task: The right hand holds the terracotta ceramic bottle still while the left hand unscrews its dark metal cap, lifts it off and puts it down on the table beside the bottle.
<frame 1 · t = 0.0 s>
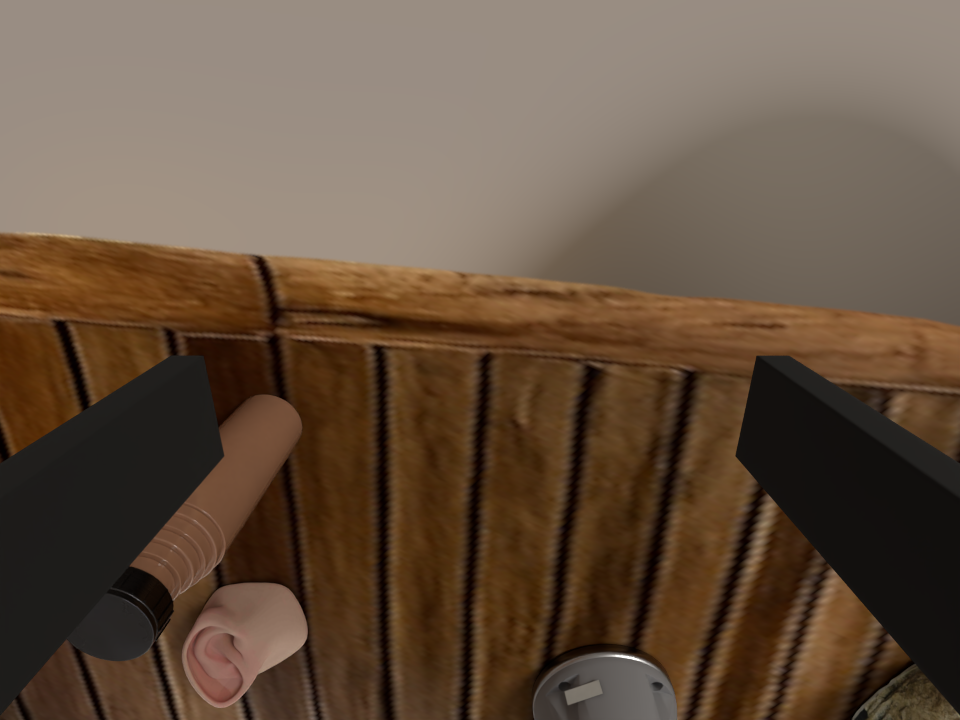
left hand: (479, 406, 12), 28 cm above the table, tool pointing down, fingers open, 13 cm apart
cap: (110, 622, 25), point 20 cm above the table, screwed on, not yet turned
bottle: (269, 424, 44), on the table
anatomical model: (251, 625, 53), on the table
fossil: (900, 697, 57), on the table
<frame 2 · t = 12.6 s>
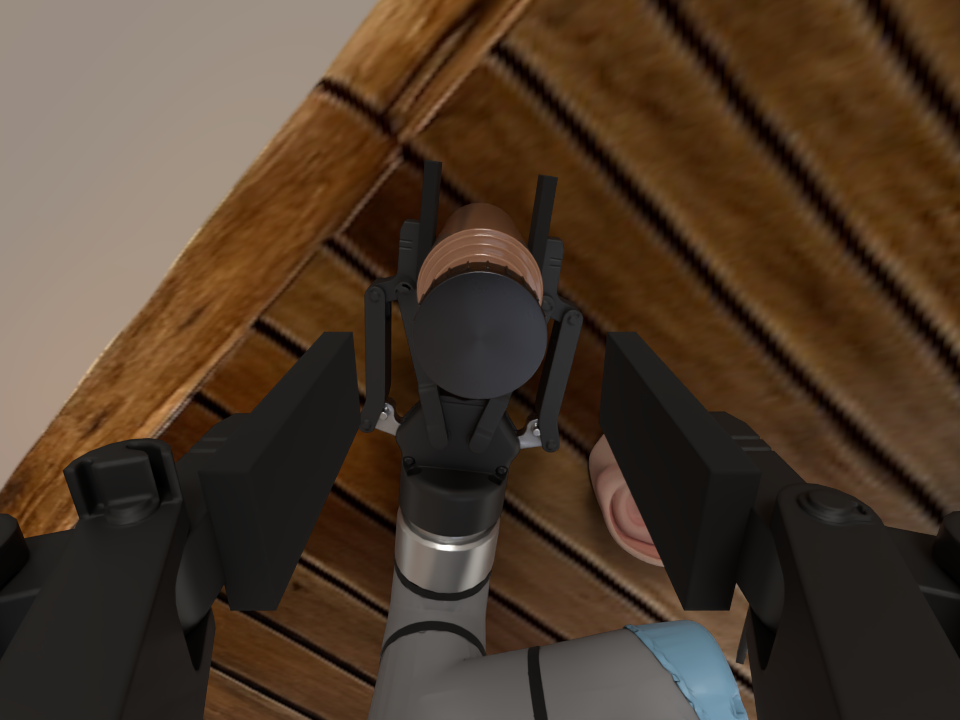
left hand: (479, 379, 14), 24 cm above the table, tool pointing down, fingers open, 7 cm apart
right hand: (490, 169, 29), fingers closed on bottle, 6 cm apart
cap: (479, 335, 17), point 20 cm above the table, screwed on, not yet turned
bottle: (479, 244, 36), on the table, touching right hand
anatomical model: (651, 473, 43), on the table
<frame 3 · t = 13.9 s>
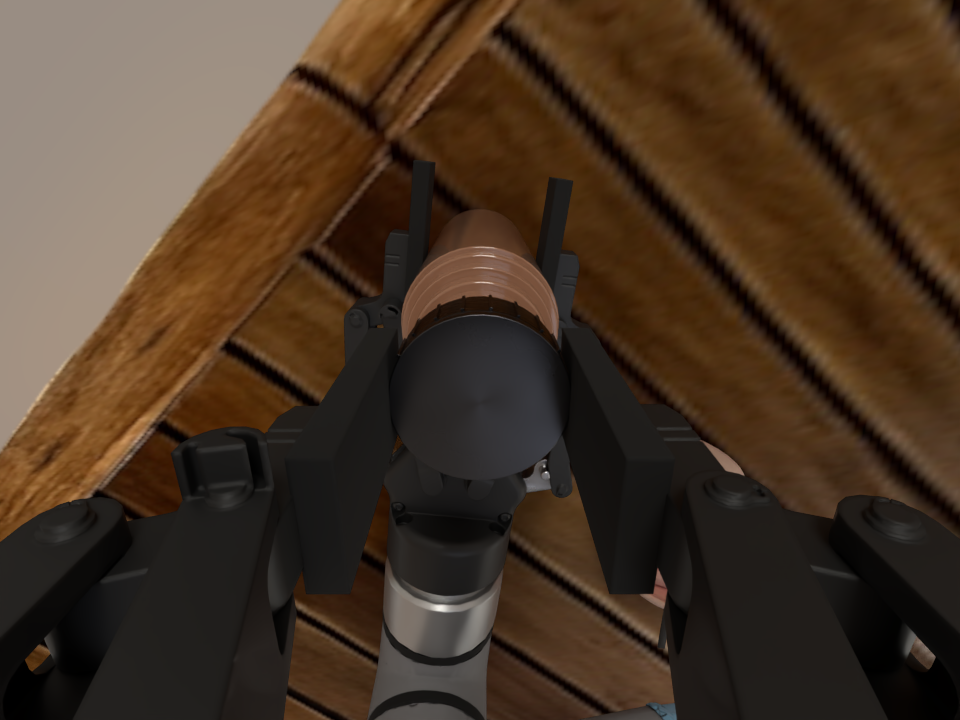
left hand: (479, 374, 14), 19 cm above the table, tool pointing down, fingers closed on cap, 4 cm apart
right hand: (493, 171, 24), fingers closed on bottle, 6 cm apart
cap: (479, 397, 13), point 20 cm above the table, screwed on, not yet turned, touching left hand
bottle: (480, 256, 32), on the table, touching right hand
anatomical model: (671, 510, 39), on the table
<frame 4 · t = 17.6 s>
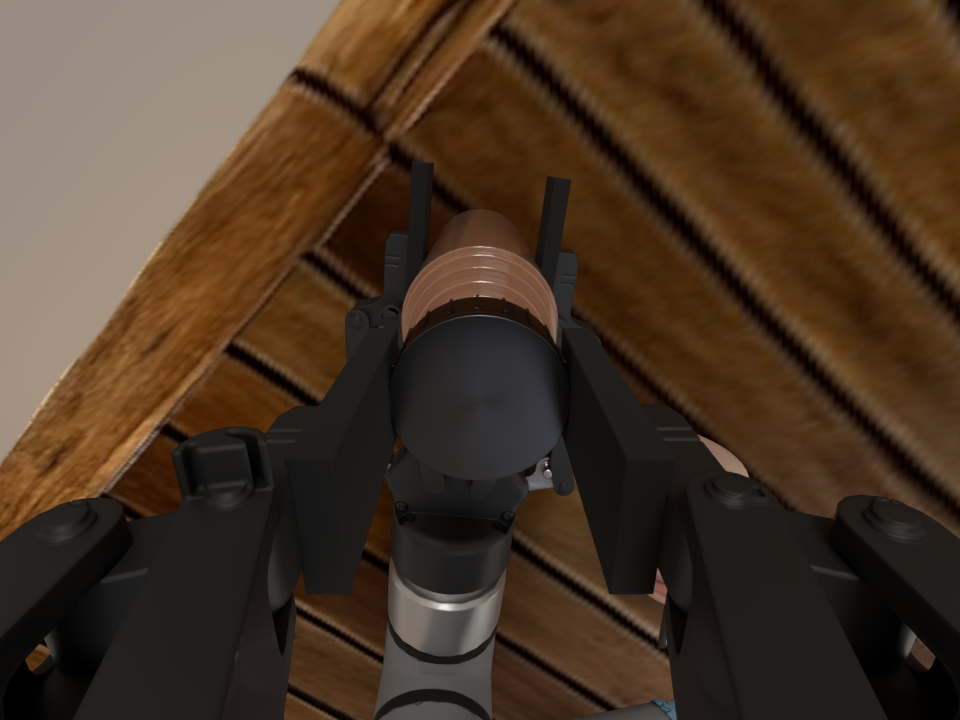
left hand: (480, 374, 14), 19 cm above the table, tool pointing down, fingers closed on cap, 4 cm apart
right hand: (491, 171, 24), fingers closed on bottle, 6 cm apart
cap: (479, 398, 13), point 21 cm above the table, turned 127° so far, risen 0.1 cm, still on its thread, touching left hand
bottle: (479, 256, 32), on the table, touching right hand
anatomical model: (673, 507, 39), on the table
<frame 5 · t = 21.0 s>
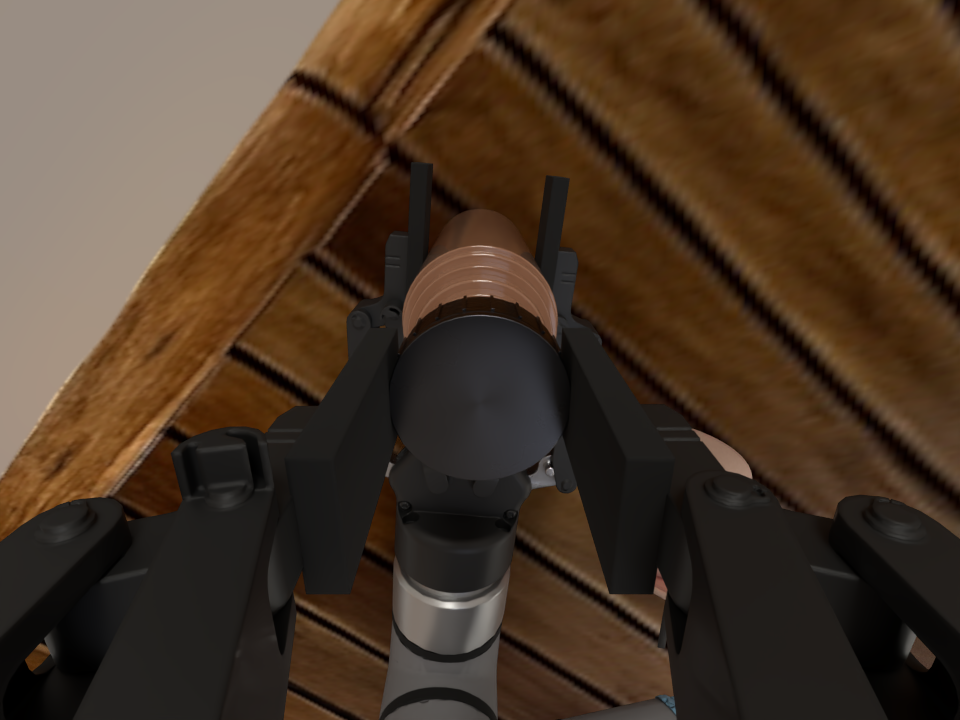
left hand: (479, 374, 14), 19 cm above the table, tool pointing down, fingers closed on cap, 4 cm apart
right hand: (490, 171, 24), fingers closed on bottle, 6 cm apart
cap: (479, 398, 13), point 21 cm above the table, turned 255° so far, risen 0.2 cm, still on its thread, touching left hand
bottle: (480, 256, 32), on the table, touching right hand
anatomical model: (677, 503, 39), on the table
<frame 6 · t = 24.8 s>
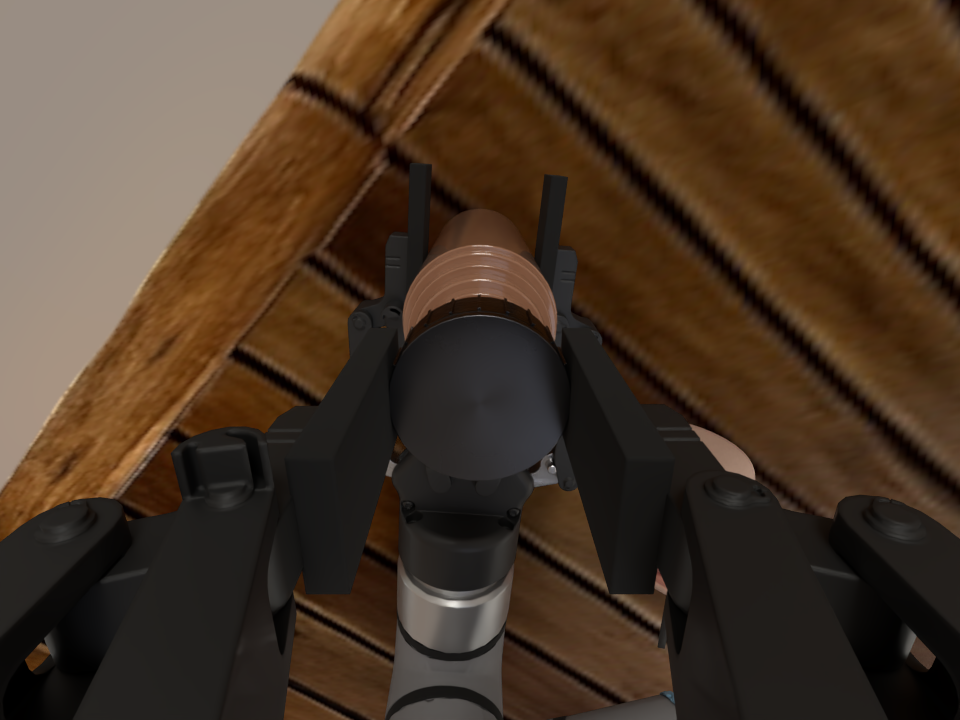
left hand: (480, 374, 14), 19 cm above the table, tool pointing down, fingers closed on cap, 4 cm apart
right hand: (488, 170, 24), fingers closed on bottle, 6 cm apart
cap: (479, 398, 13), point 21 cm above the table, turned 382° so far, risen 0.4 cm, still on its thread, touching left hand
bottle: (479, 255, 32), on the table, touching right hand
anatomical model: (679, 500, 39), on the table
when the left hand's fingers open (1 cm above the table, at t = 30.9 s): cap drops 1 cm, point 1 cm above the table.
when the right hand's fingers open (6 cm above the table, at t = 32.0 s): bottle stays where it is, on the table.
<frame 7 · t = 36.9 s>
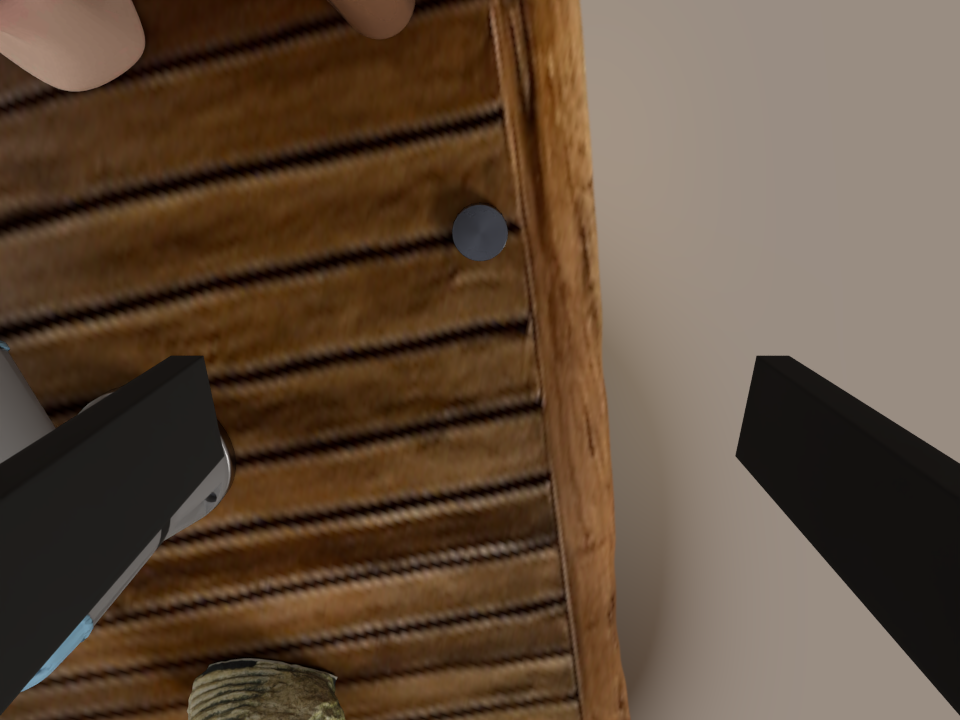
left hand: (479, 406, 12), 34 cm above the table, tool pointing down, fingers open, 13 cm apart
cap: (480, 232, 42), point 1 cm above the table, off its thread
anatomical model: (50, 2, 38), on the table
fossil: (279, 679, 63), on the table
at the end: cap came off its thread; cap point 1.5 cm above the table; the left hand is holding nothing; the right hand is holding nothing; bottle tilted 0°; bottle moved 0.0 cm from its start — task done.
